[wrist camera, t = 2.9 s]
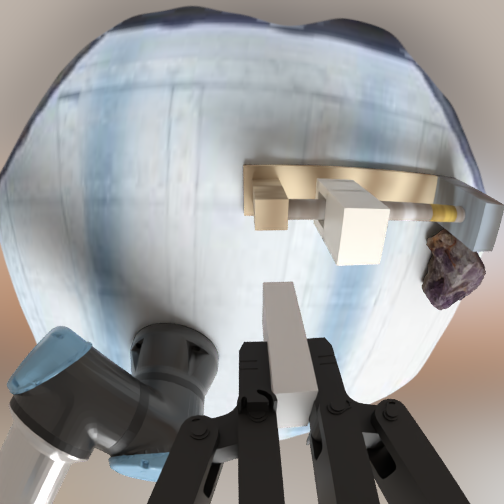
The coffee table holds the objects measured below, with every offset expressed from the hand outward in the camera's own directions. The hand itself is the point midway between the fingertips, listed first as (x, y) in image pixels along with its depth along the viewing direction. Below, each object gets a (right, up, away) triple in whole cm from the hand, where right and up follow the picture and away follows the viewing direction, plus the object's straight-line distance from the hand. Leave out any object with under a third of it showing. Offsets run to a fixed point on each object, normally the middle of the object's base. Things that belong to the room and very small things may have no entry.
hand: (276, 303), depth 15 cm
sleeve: (+7, +8, +15) cm, 19 cm away
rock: (+29, +2, +24) cm, 38 cm away
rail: (+13, +10, +19) cm, 25 cm away
